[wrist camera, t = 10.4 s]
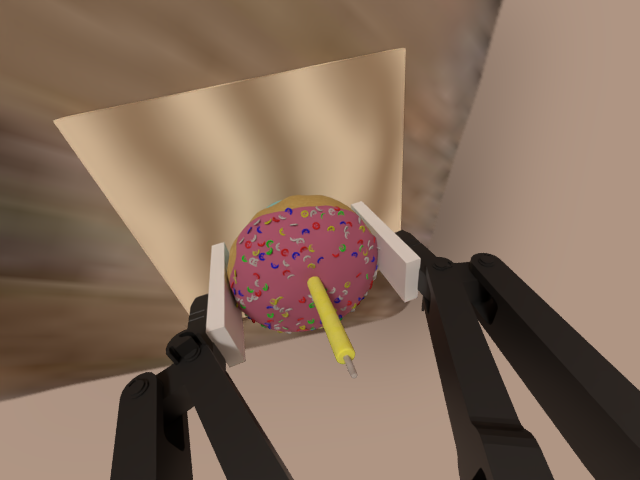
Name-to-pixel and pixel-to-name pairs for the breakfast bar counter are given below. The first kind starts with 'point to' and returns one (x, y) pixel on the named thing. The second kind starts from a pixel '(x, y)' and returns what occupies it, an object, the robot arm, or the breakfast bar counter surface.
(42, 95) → the breakfast bar counter surface
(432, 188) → the breakfast bar counter surface
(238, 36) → the breakfast bar counter surface
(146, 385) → the robot arm
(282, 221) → the cupcake
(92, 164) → the serving board
